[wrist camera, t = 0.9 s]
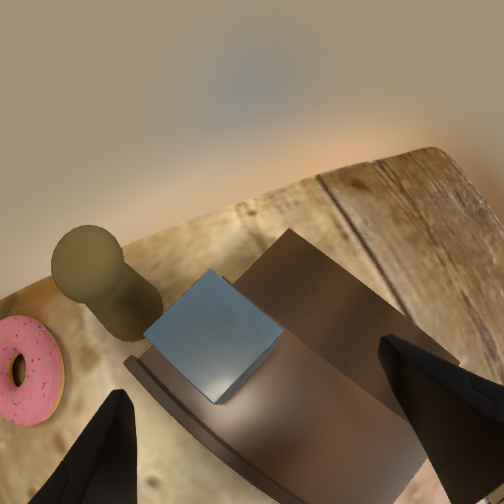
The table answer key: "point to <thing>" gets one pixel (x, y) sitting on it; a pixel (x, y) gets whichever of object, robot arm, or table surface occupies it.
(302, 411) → the step shelf
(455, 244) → the table surface
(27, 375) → the doughnut
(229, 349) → the block
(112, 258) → the olive peg doll
